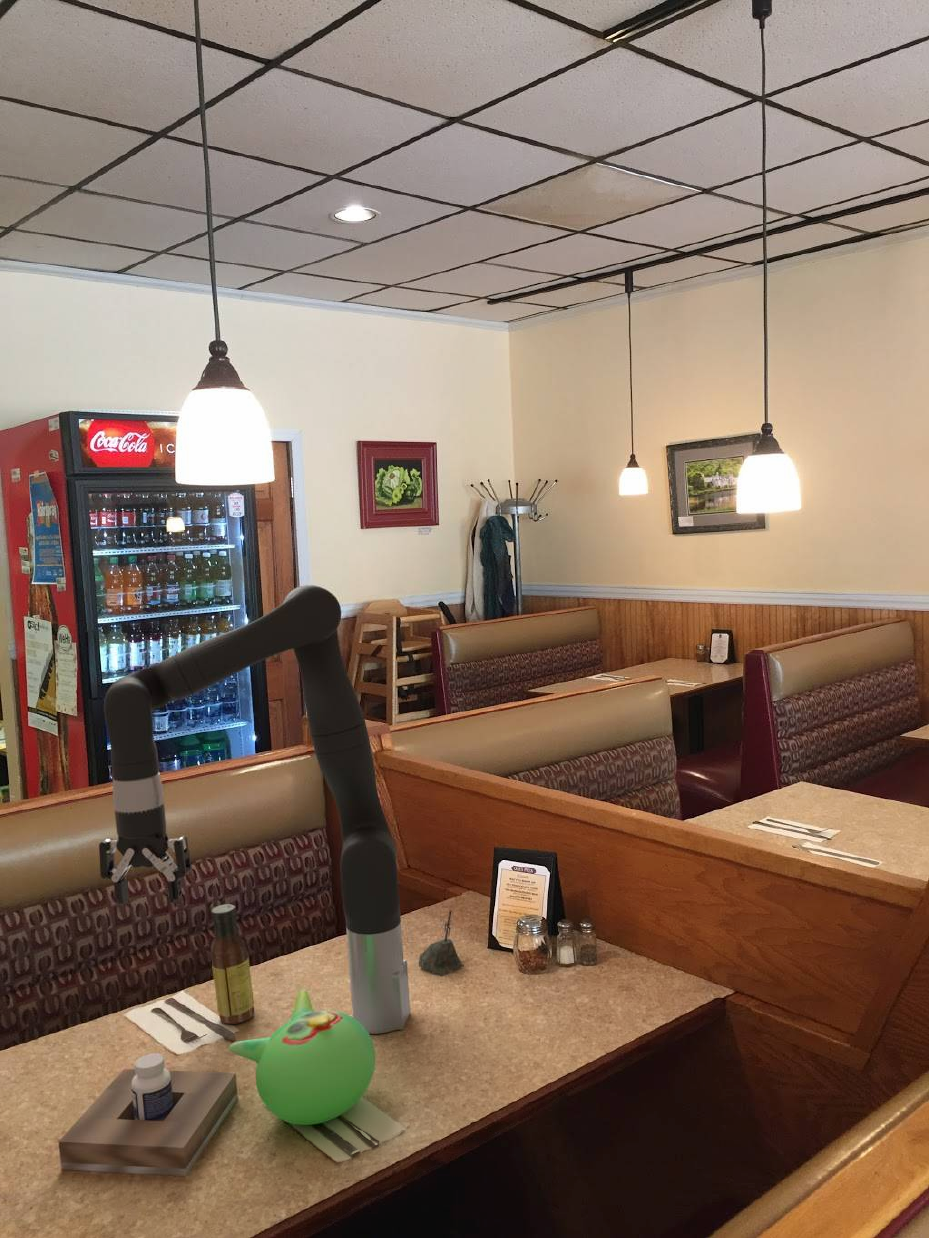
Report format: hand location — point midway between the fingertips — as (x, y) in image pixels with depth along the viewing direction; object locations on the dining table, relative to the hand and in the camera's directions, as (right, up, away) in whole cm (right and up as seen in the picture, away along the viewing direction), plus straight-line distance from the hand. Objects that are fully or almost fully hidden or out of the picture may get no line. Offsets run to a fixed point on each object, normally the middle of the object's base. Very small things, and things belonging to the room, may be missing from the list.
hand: (149, 902), depth 163 cm
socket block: (+6, -28, -17) cm, 33 cm away
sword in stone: (+46, -21, +31) cm, 59 cm away
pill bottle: (+6, -27, -18) cm, 33 cm away
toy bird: (+29, -27, -14) cm, 42 cm away
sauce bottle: (+10, -25, +15) cm, 31 cm away
